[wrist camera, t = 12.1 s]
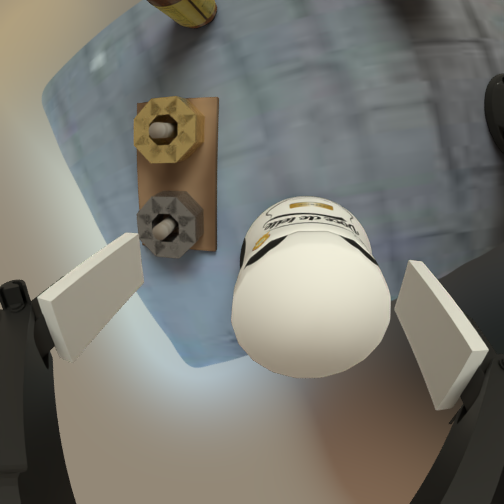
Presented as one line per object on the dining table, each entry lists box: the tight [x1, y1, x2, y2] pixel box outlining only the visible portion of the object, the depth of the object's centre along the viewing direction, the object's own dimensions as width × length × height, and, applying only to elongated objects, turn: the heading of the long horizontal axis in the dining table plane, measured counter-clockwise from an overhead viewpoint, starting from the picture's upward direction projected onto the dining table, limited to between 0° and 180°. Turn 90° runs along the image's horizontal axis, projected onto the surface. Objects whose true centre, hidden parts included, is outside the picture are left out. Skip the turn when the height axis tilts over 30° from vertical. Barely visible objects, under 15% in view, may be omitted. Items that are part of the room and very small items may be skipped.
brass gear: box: [134, 96, 205, 163], centre depth 35 cm, size 9×9×4 cm
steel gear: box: [137, 191, 204, 258], centre depth 40 cm, size 9×9×4 cm
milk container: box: [231, 196, 390, 378], centre depth 34 cm, size 17×17×18 cm
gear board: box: [137, 97, 219, 251], centre depth 37 cm, size 12×22×7 cm, turn 178°
